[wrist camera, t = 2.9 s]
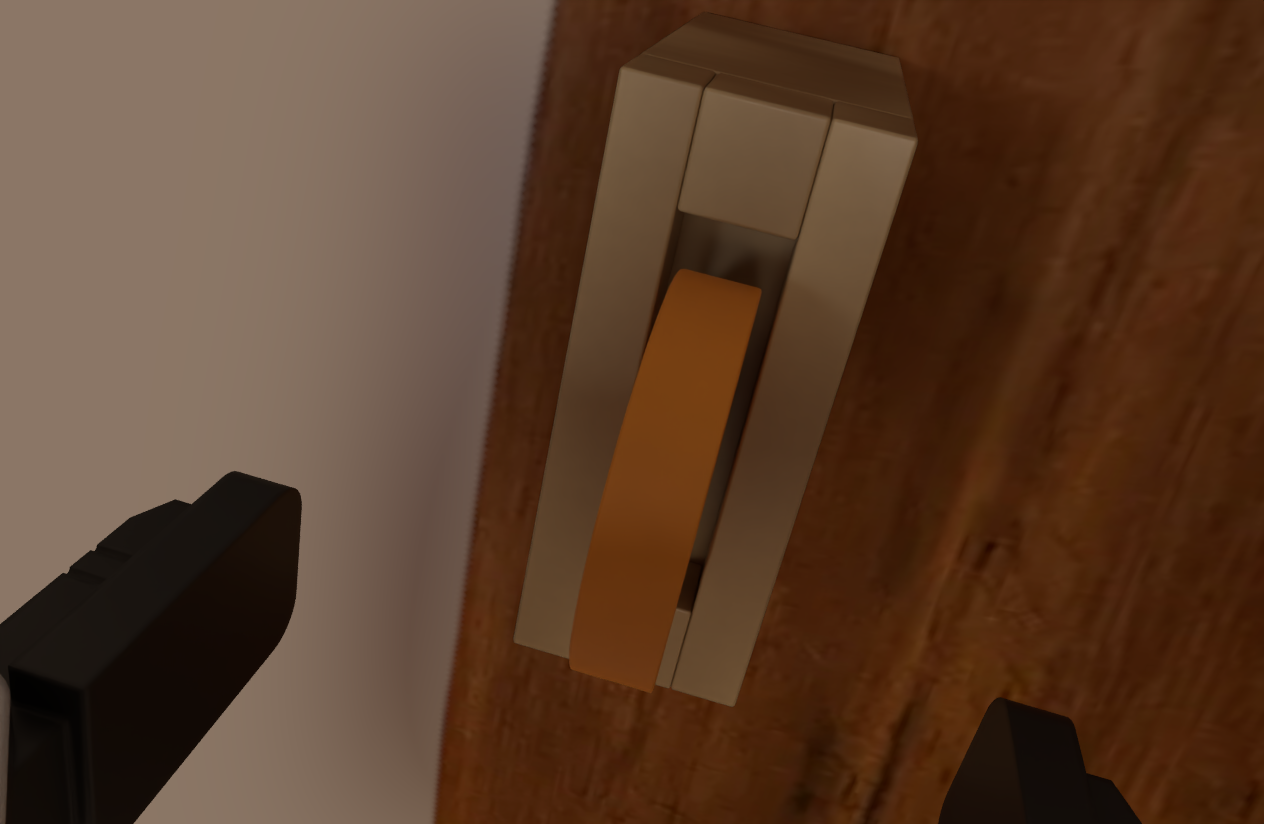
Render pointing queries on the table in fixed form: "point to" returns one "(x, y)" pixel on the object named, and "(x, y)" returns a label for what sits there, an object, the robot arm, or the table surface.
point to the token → (660, 478)
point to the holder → (737, 251)
